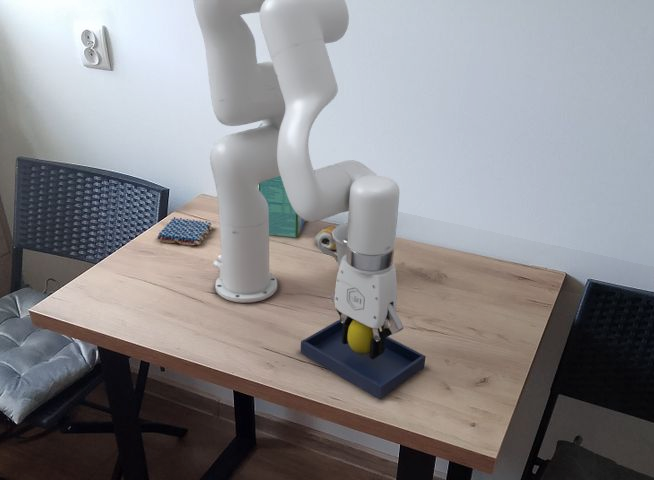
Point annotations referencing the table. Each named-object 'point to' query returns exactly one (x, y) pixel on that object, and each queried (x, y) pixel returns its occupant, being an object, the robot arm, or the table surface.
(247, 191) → the robot arm
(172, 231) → the woven mat
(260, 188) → the milk carton
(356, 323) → the lemon
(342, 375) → the tray
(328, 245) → the pastry
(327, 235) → the teacup
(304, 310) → the table surface
